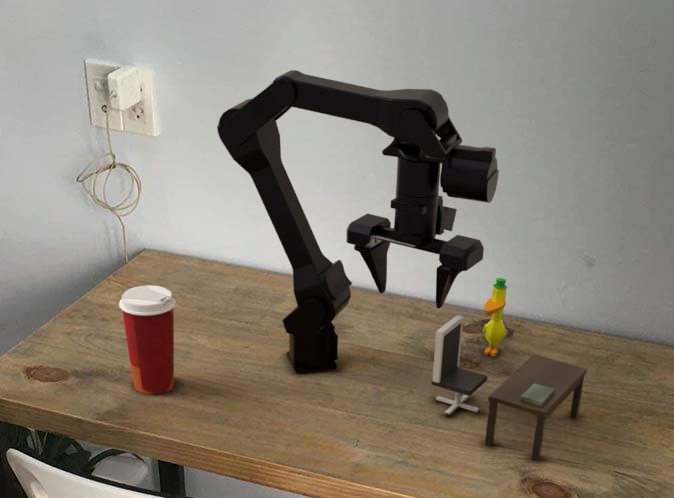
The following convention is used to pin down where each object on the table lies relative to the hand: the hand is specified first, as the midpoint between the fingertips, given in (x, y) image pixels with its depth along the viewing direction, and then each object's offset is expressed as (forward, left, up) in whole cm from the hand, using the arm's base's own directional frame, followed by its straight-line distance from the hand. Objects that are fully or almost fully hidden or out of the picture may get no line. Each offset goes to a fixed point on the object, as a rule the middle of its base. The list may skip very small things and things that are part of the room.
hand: (410, 299), depth 158 cm
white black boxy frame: (+5, -9, -13) cm, 16 cm away
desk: (+13, -18, -13) cm, 25 cm away
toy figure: (+16, +6, -13) cm, 22 cm away
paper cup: (-36, +7, -13) cm, 39 cm away
